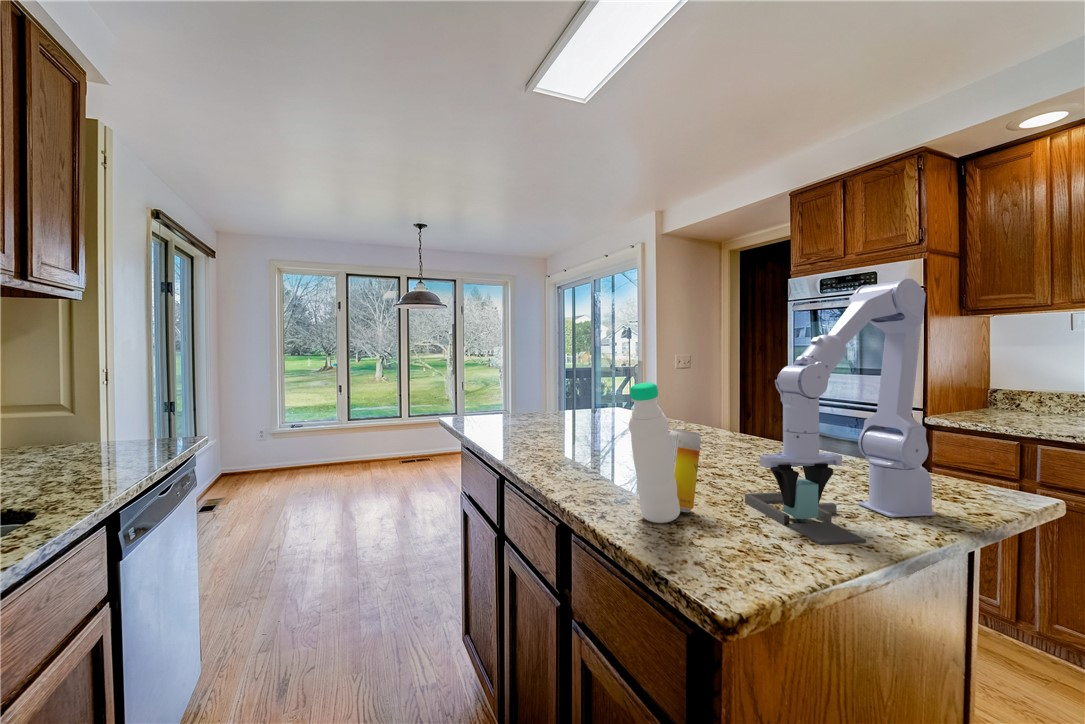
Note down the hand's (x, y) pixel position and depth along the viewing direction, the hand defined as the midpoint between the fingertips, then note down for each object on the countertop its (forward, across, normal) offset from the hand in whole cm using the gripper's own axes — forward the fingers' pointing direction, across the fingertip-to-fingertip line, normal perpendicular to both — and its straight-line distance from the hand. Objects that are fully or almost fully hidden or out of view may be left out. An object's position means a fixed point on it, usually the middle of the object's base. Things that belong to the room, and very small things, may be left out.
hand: (800, 505), depth 84 cm
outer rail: (+3, -2, -5) cm, 6 cm away
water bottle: (+2, +25, -4) cm, 25 cm away
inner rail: (+3, -6, -1) cm, 7 cm away
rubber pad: (+3, 0, +6) cm, 7 cm away
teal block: (+2, 0, 0) cm, 2 cm away
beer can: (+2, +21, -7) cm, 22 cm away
